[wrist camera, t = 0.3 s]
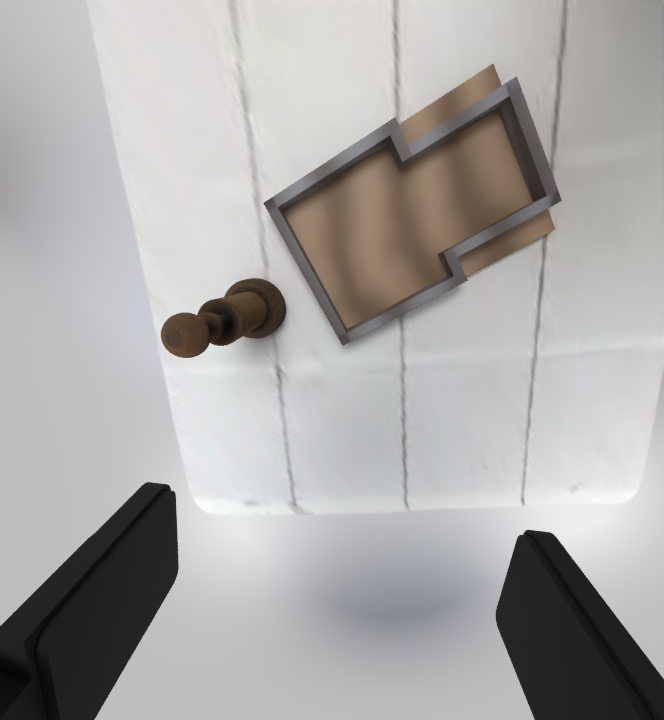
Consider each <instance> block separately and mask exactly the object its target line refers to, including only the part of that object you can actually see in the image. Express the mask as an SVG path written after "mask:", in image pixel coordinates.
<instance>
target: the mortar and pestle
mask: <svg viewBox="0 0 664 720" xmlns="http://www.w3.org/2000/svg"><path fill="white" fill-rule="evenodd" d="M285 313H286V306H285V301H284V298H283V296H282V294H281V292H280V291H279V290H278V288H277V287H275V286H274V285H273V284H272V283H270V282H268V281H266V280H263V279H256V278H254V279H246V280H242V281H239V282H237V283H235V284H234V285H232V286H231V287H230V288H229V290H228V291H227V292H226V294H225V297H223V298H218V299H214V300H210V301H208V302H206V303H205V304H203V305H202V307H201V308H200V310H199V312H198V315H195V314H192V313H179V314H176V315H174V316H172V317H170V318H169V319H168V320H167V321H166V322H165V323H164V325H163V327H162V330H161V339H162V342H163V345H164V346H165V348H166V349H167V350H168V351H169V352H170V353H172V354H173V355H175V356H178V357H182V358H191V357H195V356H198V355H200V354H201V353H203V352H204V351H205V350H206V348H207V347H208V345H209V343H211V344H214V345H218V346H224V345H228V344H231V343H232V342H234V341H236V340H237V339H239V338H240V337H242V336H245V337H248V338H262V337H265V336H267V335H269V334H271V333H272V332H273V331H275V330H276V329H277V328H278V327H279V326H280V325H281V324H282V322H283V320H284V317H285Z"/></svg>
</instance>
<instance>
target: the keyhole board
mask: <svg viewBox="0 0 664 720" xmlns="http://www.w3.org/2000/svg"><path fill="white" fill-rule="evenodd" d="M560 201H562V200H561V197H560V194H559V192H558V189H557V186H556V183H555V181H554V178H553V175H552V172H551V170H550V167H549V164H548V161H547V159H546V156H545V153H544V150H543V148H542V145H541V142H540V139H539V137H538V134H537V131H536V128H535V126H534V123H533V120H532V117H531V115H530V112H529V109H528V106H527V104H526V101H525V98H524V95H523V93H522V90H521V87H520V84H519V81H518V79H517V77H515V78H513V79H512V80H510V81H509V82H507V83H506V84H504V85H501V83H500V80H499V77H498V75H497V72H496V69H495V67H494V64H492V65H490V66H489V67H487V68H486V69H484V70H483V71H481V72H480V73H478V74H476V75H475V76H473V77H472V78H470V79H469V80H467V81H466V82H464V83H463V84H461V85H459V86H458V87H456V88H455V89H453V90H452V91H450V92H449V93H447V94H445V95H444V96H442V97H441V98H439V99H438V100H436V101H435V102H433V103H432V104H430V105H428V106H427V107H425V108H424V109H422V110H421V111H419V112H418V113H416V114H415V115H413V116H411V117H410V118H408V119H407V120H405V121H404V122H402V123H401V124H398V122H397V120H396V118H393V119H392V120H390V121H389V122H387V123H386V124H384V125H383V126H381V127H380V128H378V129H376V130H375V131H373V132H372V133H370V134H369V135H367V136H366V137H364V138H363V139H361V140H360V141H358V142H356V143H355V144H353V145H352V146H350V147H349V148H347V149H346V150H344V151H343V152H341V153H340V154H338V155H337V156H335V157H333V158H332V159H330V160H329V161H327V162H326V163H324V164H323V165H321V166H320V167H318V168H317V169H315V170H314V171H312V172H310V173H309V174H307V175H306V176H304V177H303V178H301V179H300V180H298V181H297V182H295V183H294V184H292V185H290V186H289V187H287V188H286V189H284V190H283V191H281V192H280V193H278V194H277V195H275V196H274V197H272V198H271V199H269V200H267V201H266V202H264V205H265V207H266V209H267V210H268V212H269V214H270V216H271V218H272V219H273V221H274V223H275V225H276V227H277V228H278V230H279V232H280V234H281V236H282V237H283V239H284V241H285V243H286V245H287V246H288V248H289V250H290V252H291V254H292V255H293V257H294V259H295V261H296V263H297V264H298V266H299V268H300V270H301V272H302V273H303V275H304V277H305V279H306V281H307V282H308V284H309V286H310V288H311V290H312V291H313V293H314V295H315V297H316V299H317V300H318V302H319V304H320V306H321V308H322V309H323V311H324V313H325V315H326V317H327V318H328V320H329V322H330V324H331V326H332V327H333V329H334V331H335V333H336V335H337V336H338V338H339V340H340V342H341V344H342V345H345V344H347V343H349V342H351V341H353V340H355V339H357V338H359V337H360V336H362V335H364V334H366V333H368V332H370V331H372V330H374V329H376V328H378V327H380V326H381V325H383V324H385V323H387V322H389V321H391V320H393V319H395V318H397V317H399V316H401V315H402V314H404V313H406V312H408V311H410V310H412V309H414V308H416V307H418V306H420V305H422V304H424V303H425V302H427V301H429V300H431V299H433V298H435V297H437V296H439V295H441V294H443V293H445V292H446V291H448V290H450V289H452V288H454V287H456V286H458V285H460V284H462V283H464V282H466V281H468V279H467V277H466V276H468V275H470V274H472V273H474V272H475V271H477V270H479V269H481V268H483V267H485V266H487V265H489V264H491V263H493V262H494V261H496V260H498V259H500V258H502V257H504V256H506V255H508V254H510V253H512V252H513V251H515V250H517V249H519V248H521V247H523V246H525V245H527V244H529V243H531V242H532V241H534V240H536V239H538V238H540V237H542V236H544V235H546V234H548V233H550V232H552V231H553V230H555V227H554V225H553V222H552V219H551V217H550V214H549V211H548V209H547V208H549V207H551V206H553V205H555V204H557V203H558V202H560Z"/></svg>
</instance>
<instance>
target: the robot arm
mask: <svg viewBox="0 0 664 720" xmlns="http://www.w3.org/2000/svg"><path fill="white" fill-rule="evenodd" d="M177 542H178V541H177V516H176V495H175V492H174V491H171V489H170V486H169V485H167V484H159V483H150V482H147V483H145V484H144V485H142V486H141V488H139V489H138V490H137V491H136V493H134V494H133V496H132V497H131V498H129V499H128V501H126V503H124V505H123V506H122V507H121V508H120V509H119V510H118V511H117V512H116V513H115V514H114V515H113V516H112V517H111V518H110V519H109V520H108V521H107V522H106V523H105V524H104V525H103V526H102V527H101V528H100V529H99V530H98V531H97V532H96V533H95V534H93V535H92V536H91V537H90V538H88V539H87V540H86V541H85V542H84V543H83V544H82V545H81V546H80V547H79V548H78V549H77V551H75V552H74V553H73V554H72V555H71V556H70V557H69V558H68V559H67V560H66V561H65V562H64V563H63V564H62V565H61V566H60V567H59V568H58V569H57V570H56V571H55V572H54V573H53V574H52V575H51V576H50V577H49V578H48V579H47V580H46V581H45V582H44V583H43V584H42V585H41V586H40V587H39V588H38V589H37V590H36V591H35V592H34V593H33V594H32V595H31V596H30V597H29V598H28V599H27V600H26V601H25V602H24V603H23V604H22V605H21V606H20V607H19V608H18V609H17V610H16V611H15V612H14V613H13V614H12V615H11V616H10V617H9V618H8V619H7V620H6V621H5V622H4V623H3V624H2V625H1V626H0V720H94V719H95V718H96V716H97V714H98V712H99V711H100V709H101V707H102V706H103V704H104V702H105V700H106V699H107V697H108V695H109V694H110V692H111V690H112V688H113V687H114V685H115V683H116V682H117V680H118V678H119V676H120V674H121V673H122V671H123V670H124V668H125V666H126V664H127V662H128V661H129V659H130V658H131V656H132V654H133V652H134V651H135V649H136V647H137V646H138V644H139V642H140V640H141V639H142V637H143V635H144V633H145V632H146V630H147V628H148V627H149V625H150V623H151V622H152V620H153V618H154V616H155V614H156V613H157V611H158V609H159V608H160V606H161V604H162V603H163V601H164V599H165V597H166V596H167V594H168V592H169V591H170V589H171V587H172V585H173V584H174V582H175V580H176V577H177V573H178V543H177ZM496 622H497V626H498V629H499V631H500V634H501V637H502V639H503V642H504V644H505V646H506V649H507V651H508V654H509V657H510V659H511V662H512V664H513V667H514V669H515V672H516V674H517V676H518V679H519V681H520V684H521V686H522V689H523V691H524V694H525V696H526V699H527V701H528V704H529V706H530V709H531V711H532V714H533V716H534V719H535V720H664V679H663V678H662V676H661V675H660V674H659V672H658V671H657V670H656V668H655V667H654V666H653V664H652V663H651V662H650V660H649V659H648V658H647V656H646V655H645V654H644V653H643V651H642V650H641V649H640V647H639V646H638V645H637V643H636V642H635V641H634V639H633V638H632V637H631V635H630V634H629V633H628V631H627V630H626V629H625V627H624V626H623V625H622V623H621V622H620V621H619V620H618V618H617V617H616V616H615V614H614V613H613V612H612V610H611V609H610V608H609V606H608V605H607V604H606V602H605V601H604V600H603V598H602V597H601V596H600V595H599V593H598V592H597V591H596V589H595V588H594V587H593V585H592V584H591V583H590V581H589V580H588V579H587V578H586V576H585V575H584V573H583V572H582V571H581V569H580V568H579V567H578V566H577V564H576V563H575V562H574V560H573V559H572V558H571V556H570V555H569V554H568V552H567V551H566V550H565V548H564V547H563V546H562V544H561V543H560V542H559V541H558V539H557V538H556V537H555V536H554V535H553V534H552V533H550V532H542V531H534V530H526V531H525V532H524V534H523V535H519V536H518V538H517V541H516V544H515V548H514V551H513V555H512V558H511V561H510V565H509V568H508V572H507V575H506V578H505V582H504V585H503V589H502V592H501V596H500V599H499V602H498V606H497V609H496Z"/></svg>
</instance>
